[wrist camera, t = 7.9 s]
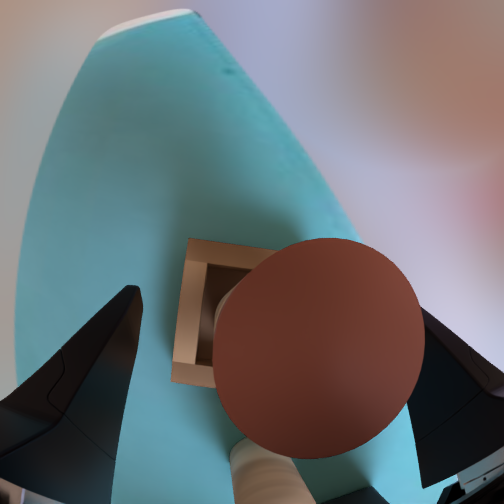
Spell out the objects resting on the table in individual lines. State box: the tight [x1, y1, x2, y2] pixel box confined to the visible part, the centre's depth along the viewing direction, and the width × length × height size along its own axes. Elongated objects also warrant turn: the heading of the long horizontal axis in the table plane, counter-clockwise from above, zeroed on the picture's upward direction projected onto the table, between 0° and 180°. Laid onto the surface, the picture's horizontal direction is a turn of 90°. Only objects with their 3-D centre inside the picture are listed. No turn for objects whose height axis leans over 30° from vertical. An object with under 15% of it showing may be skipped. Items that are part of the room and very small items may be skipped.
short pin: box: [229, 437, 316, 504], centre depth 13 cm, size 4×4×7 cm
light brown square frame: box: [171, 238, 277, 388], centre depth 17 cm, size 8×8×3 cm
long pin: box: [212, 238, 425, 459], centre depth 11 cm, size 4×4×13 cm
